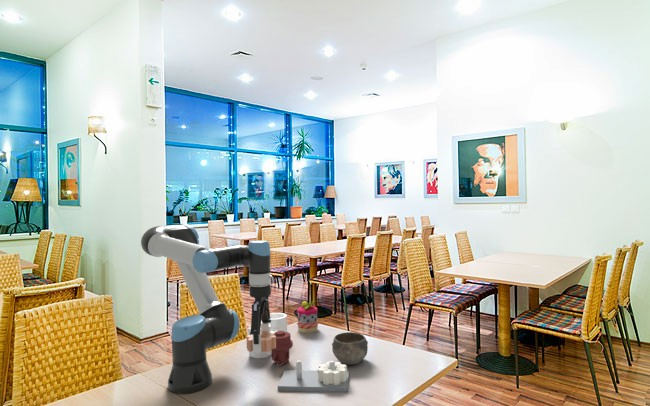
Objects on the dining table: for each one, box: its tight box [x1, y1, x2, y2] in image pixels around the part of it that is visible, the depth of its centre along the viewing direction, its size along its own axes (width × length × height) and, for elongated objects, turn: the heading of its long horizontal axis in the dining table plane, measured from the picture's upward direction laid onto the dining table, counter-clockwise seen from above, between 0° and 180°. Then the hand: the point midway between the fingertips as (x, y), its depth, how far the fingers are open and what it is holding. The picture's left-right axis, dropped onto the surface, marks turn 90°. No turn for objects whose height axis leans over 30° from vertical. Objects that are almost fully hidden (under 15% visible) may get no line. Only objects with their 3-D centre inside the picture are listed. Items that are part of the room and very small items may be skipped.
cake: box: [296, 300, 319, 334], centre depth 202 cm, size 10×11×15 cm
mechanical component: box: [271, 331, 294, 367], centre depth 163 cm, size 12×10×10 cm
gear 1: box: [246, 331, 276, 353], centre depth 143 cm, size 10×10×4 cm
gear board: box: [277, 360, 350, 393], centre depth 144 cm, size 24×13×8 cm, turn 84°
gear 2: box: [317, 361, 348, 385], centre depth 143 cm, size 10×10×4 cm
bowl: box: [331, 331, 369, 366], centre depth 162 cm, size 14×15×10 cm
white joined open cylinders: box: [247, 312, 288, 359], centre depth 180 cm, size 25×10×12 cm, turn 161°
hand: (261, 346), depth 143 cm, fingers closed on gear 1, 10 cm apart
